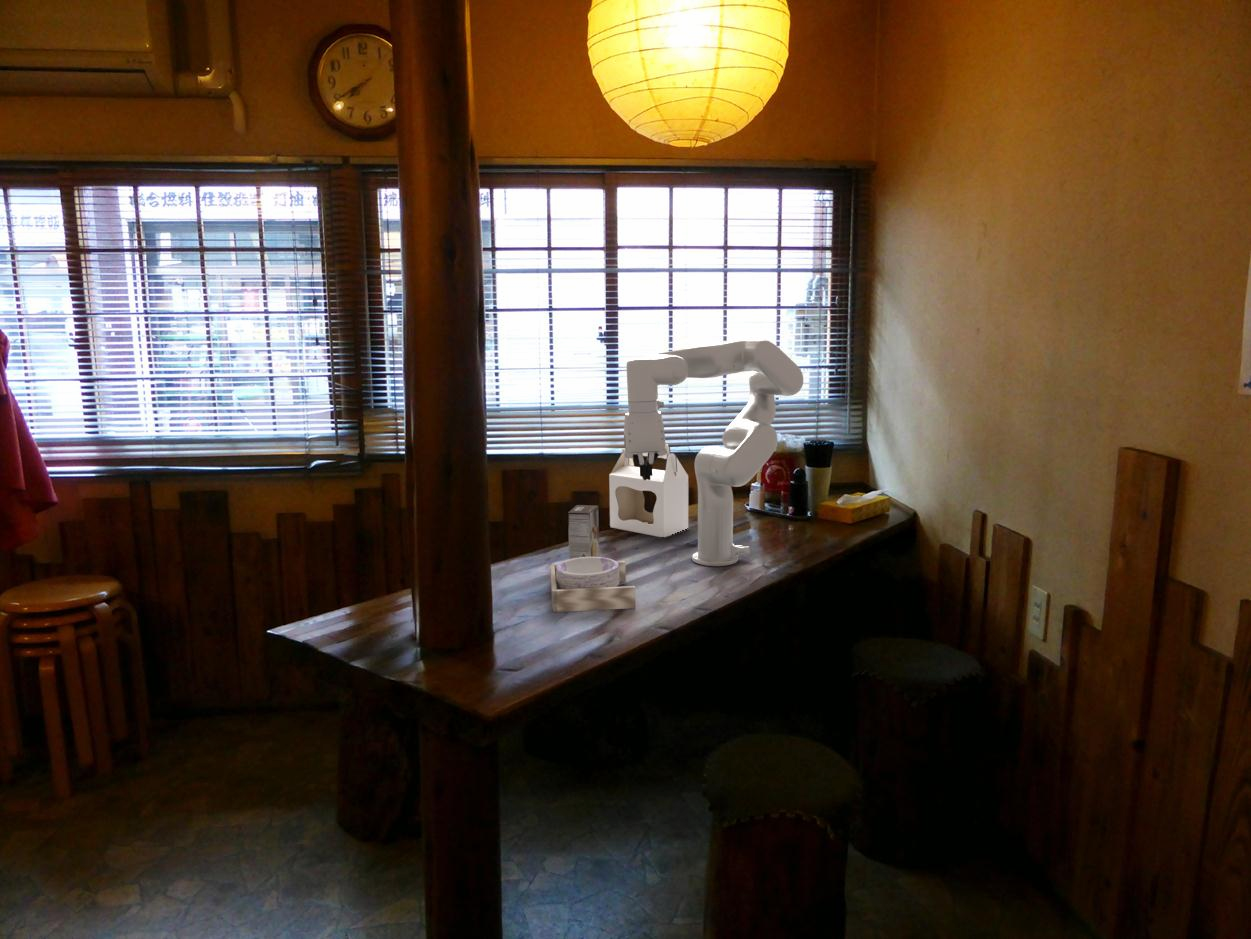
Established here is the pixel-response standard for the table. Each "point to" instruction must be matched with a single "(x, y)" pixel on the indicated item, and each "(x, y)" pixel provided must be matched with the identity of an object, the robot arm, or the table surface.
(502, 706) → the table surface
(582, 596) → the box
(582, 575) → the paper bowls
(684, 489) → the gable box
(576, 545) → the coffee box
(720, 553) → the robot arm
